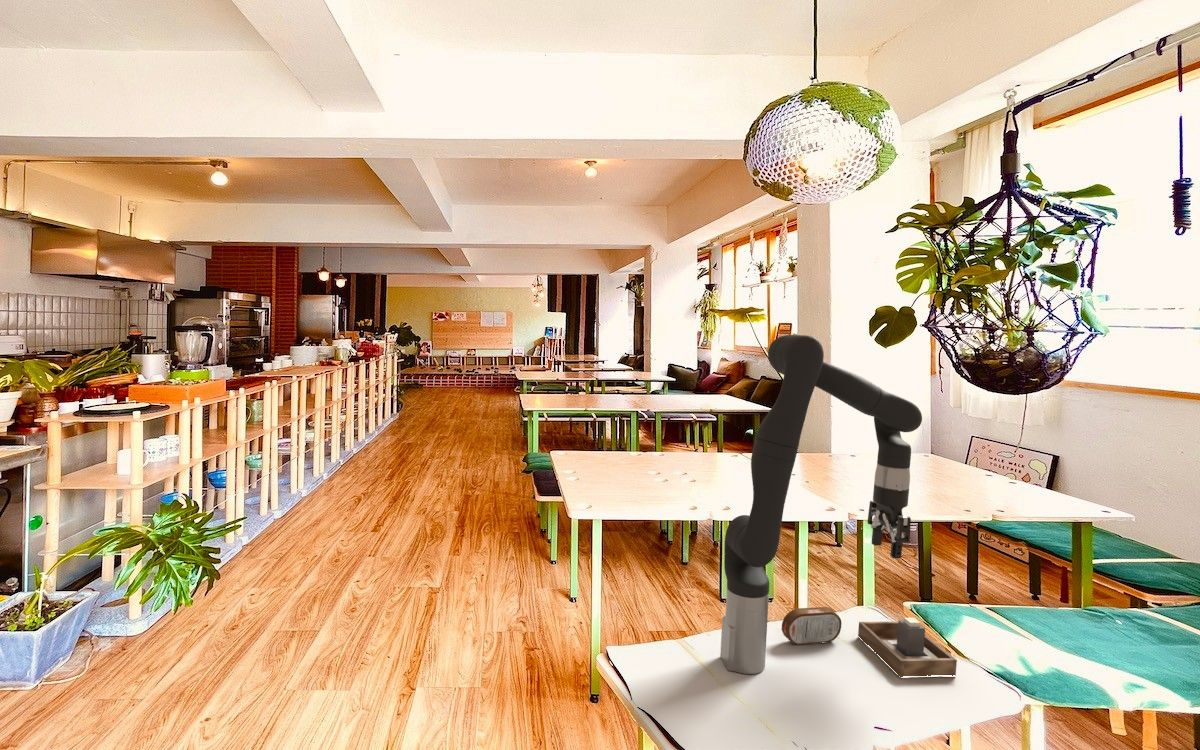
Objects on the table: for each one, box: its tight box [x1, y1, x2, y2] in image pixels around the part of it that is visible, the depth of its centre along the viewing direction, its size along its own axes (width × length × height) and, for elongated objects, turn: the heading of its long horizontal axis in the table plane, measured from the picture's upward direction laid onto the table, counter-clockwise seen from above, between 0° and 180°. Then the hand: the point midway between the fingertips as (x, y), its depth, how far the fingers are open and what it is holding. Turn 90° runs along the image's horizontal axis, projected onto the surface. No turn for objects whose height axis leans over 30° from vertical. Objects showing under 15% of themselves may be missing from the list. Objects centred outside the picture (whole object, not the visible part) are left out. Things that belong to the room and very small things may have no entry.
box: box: [857, 621, 958, 677], centre depth 143 cm, size 13×18×4 cm
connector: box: [896, 617, 926, 657], centre depth 141 cm, size 4×4×9 cm
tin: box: [781, 606, 842, 646], centre depth 148 cm, size 15×3×8 cm, turn 102°
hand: (885, 551), depth 145 cm, fingers open, 8 cm apart
